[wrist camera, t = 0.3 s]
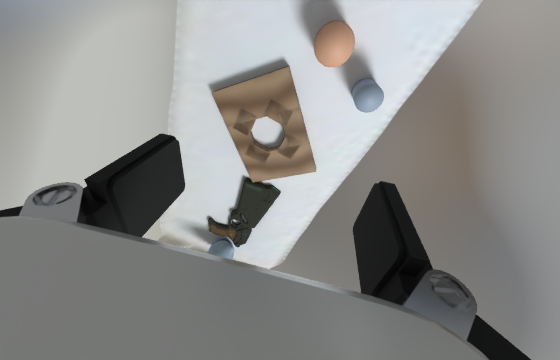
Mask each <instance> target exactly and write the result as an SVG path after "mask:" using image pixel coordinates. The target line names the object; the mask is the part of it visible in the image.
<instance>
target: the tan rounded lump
mask: <svg viewBox="0 0 560 360" xmlns="http://www.w3.org/2000/svg"><path fill="white" fill-rule="evenodd" d="M354 45H355V38H354V34H353V31H352V29H351V28H350V27H349V25H347V24H346V23H344V22H341V21H333V22H330V23H328V24H326V25H325V26H323V27H322V28H321V30H320V31H319V32H318V34H317V36H316V39H315V43H314V51H315V55H316V58H317V59H318V61H319V62H320V63H321V64H322V65H324V66H326V67H337V66H340V65H342V64H343V63H345V62H346V61H347V60H348V59H349V57H350V56H351V54H352V52H353V49H354Z"/></svg>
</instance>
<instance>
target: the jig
mask: <svg viewBox="0 0 560 360" xmlns="http://www.w3.org/2000/svg"><path fill="white" fill-rule="evenodd" d="M212 95H213V97H214V100H215V102H216V104H217V106H218V108H219V110H220V113H221V115H222V117H223V119H224V121H225V124H226V126H227V128H228V130H229V132H230V134H231V137H232V139H233V141H234V143H235V145H236V148H237V150H238V152H239V154H240V156H241V158H242V161H243V163H244V165H245V167H246V169H247V171H248V174H249V176H250V178H251V180H252V182H258V181H264V180H270V179H276V178H282V177H288V176H293V175H299V174H305V173H311V172H316V165H315V161H314V158H313V154H312V150H311V146H310V143H309V139H308V135H307V131H306V127H305V124H304V120H303V116H302V112H301V108H300V105H299V101H298V97H297V93H296V89H295V86H294V82H293V78H292V74H291V71H290V67H289V66H287V67H284V68H281V69H279V70H276V71H273V72H270V73H267V74H264V75H261V76H258V77H255V78H252V79H249V80H247V81H244V82H241V83H238V84H235V85H232V86H229V87H226V88H223V89H220V90H217V91H215V92H213V93H212ZM266 116H267V117H269V118H271V119H273V120H274V121H276V122H278V123H280V124H281V125H282V126H283V129H284V132H285V135H286V136H285V138H284V140H283V142H282V143H281V145H280V147H275V148H271V149H268V148H267V147H265V146H263V145H261V144H259V143H257V142H256V141H255V140H254V137H253V135H252V132H251V129H252V127H253V125H254V123H255V121H256V119H258V118H262V117H266Z"/></svg>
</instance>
